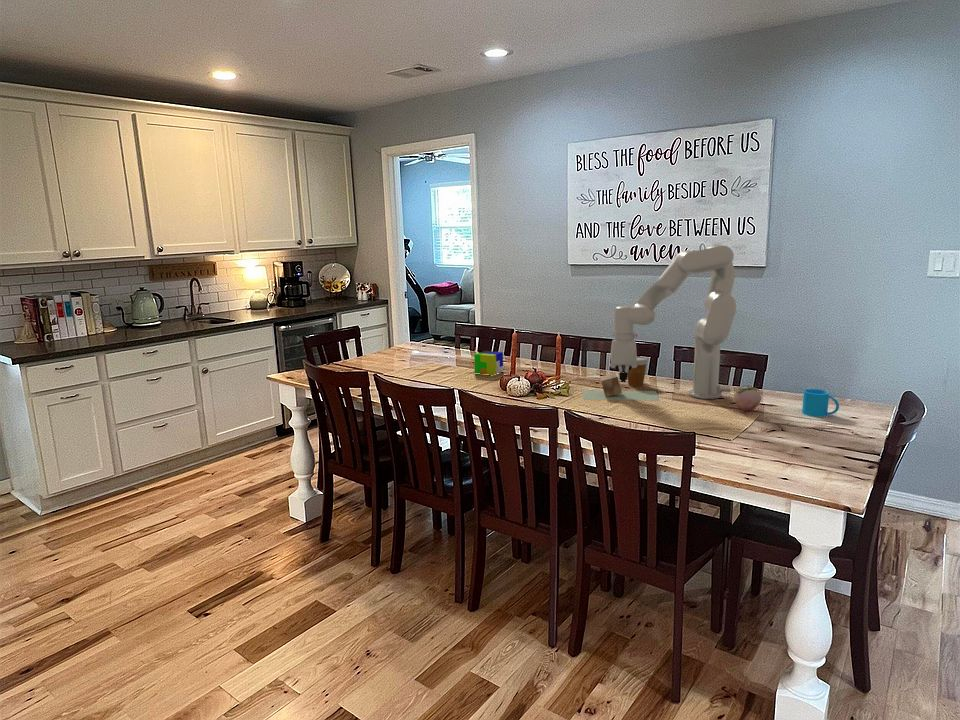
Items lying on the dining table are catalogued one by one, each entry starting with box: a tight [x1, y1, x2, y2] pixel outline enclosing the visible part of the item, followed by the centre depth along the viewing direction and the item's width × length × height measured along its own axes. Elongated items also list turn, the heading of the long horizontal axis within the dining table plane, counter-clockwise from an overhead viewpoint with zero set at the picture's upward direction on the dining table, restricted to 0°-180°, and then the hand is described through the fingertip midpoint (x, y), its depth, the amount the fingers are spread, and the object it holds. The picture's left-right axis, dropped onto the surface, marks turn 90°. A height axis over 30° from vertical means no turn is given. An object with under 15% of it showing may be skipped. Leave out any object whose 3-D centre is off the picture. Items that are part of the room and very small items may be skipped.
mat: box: [582, 389, 661, 402], centre depth 262 cm, size 30×15×1 cm, turn 82°
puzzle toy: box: [473, 350, 504, 375], centre depth 308 cm, size 10×10×10 cm
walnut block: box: [600, 372, 623, 397], centre depth 262 cm, size 7×7×7 cm
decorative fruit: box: [733, 385, 762, 413], centre depth 235 cm, size 9×8×10 cm
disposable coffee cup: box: [627, 356, 649, 387], centre depth 278 cm, size 10×10×12 cm
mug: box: [801, 388, 840, 418], centre depth 230 cm, size 12×8×8 cm
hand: (623, 381), depth 261 cm, fingers closed
